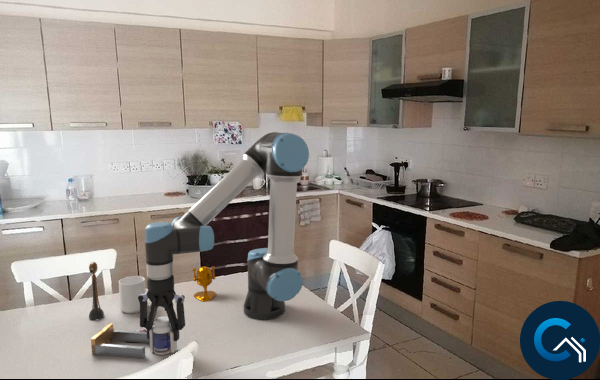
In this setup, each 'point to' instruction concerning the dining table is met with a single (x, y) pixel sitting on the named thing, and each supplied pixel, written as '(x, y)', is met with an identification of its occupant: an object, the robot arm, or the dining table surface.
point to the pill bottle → (162, 335)
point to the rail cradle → (104, 348)
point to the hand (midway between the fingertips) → (163, 349)
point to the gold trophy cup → (204, 283)
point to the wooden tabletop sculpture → (95, 295)
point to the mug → (131, 293)
